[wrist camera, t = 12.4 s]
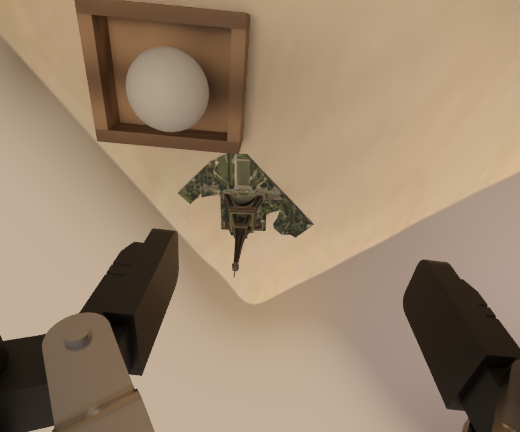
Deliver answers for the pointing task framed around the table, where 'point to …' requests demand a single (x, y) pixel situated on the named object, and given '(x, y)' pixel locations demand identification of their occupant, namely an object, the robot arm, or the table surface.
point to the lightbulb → (167, 89)
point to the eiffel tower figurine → (245, 199)
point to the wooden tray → (171, 35)
